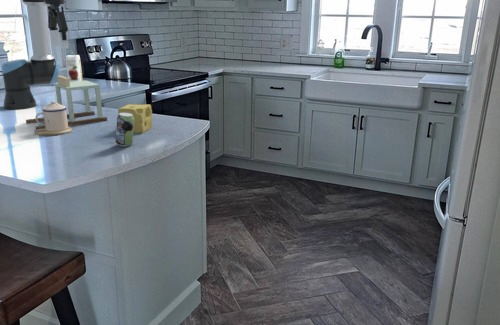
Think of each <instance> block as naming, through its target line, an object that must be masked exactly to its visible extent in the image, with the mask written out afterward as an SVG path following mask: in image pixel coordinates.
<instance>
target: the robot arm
mask: <svg viewBox="0 0 500 325" xmlns="http://www.w3.org/2000/svg"><path fill="white" fill-rule="evenodd" d="M22 3H23V4H24V5H26V11H27V18H28V19H27V20H28V26H29V32H30V41H31V48H32V55H31V57H30V61H27V60H26V59H16V60H9V61H6V62H3V63H2V64H1V74H2V79H3V86H4V91H5V92H4V93H5V94H4V100H3V108H4V109H6V110H22V109H28V108H33V107H36V106H37V101H36V99H35V97H34V95H33V93H32V91H31V86H35V85H36V86H37V85H50V84H55V83H58V78H57V76H60V63H59V61H58V60H56V59H55V56H54V55H53V54H52V49H51V46H52V47H58V46H60V49H62V50H64V49H69V43H68V34H67V33H68V31H69V28H68V24H67V23H68V22H67V19H66V17H65V11H64V7H63V6H61V5H64V4H65V0H22ZM47 5H48V6H47ZM46 6H47V7H46ZM47 12H48V13H47ZM47 14H48V15H47ZM57 26H58V27H57ZM58 33H59V34H58ZM50 38H51V39H50ZM50 40H51V42H50Z"/></svg>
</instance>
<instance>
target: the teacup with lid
mask: <svg viewBox="0 0 500 325" xmlns="http://www.w3.org/2000/svg"><path fill="white" fill-rule="evenodd" d="M67 114H68V113H67V107H66V106H65V105H63V104H62V105H60V104H58V103H57V100H51V101H50V103H49V104H48V105H45V106H44V107H42V112H38V113H37V114H36V115H35V118H36V121H37V122H38V124H39V125H40V126H41V125H45V128H46V130H47V131H50V132H57V131H63V130H66V129H68V127H69V126H68V122H69V121H68V118H67ZM41 115H43V117H44V121H45V122H39V120H38V118H39V117H38V116H41Z"/></svg>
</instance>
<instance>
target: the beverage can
mask: <svg viewBox="0 0 500 325" xmlns="http://www.w3.org/2000/svg"><path fill="white" fill-rule="evenodd" d="M133 130H134V117H133V114H131V113H119V115H117V117H116V128H115V144H117V145H118V146H120V147H130V146H131V145H132V144H133V141H134V132H133Z"/></svg>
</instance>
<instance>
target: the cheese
mask: <svg viewBox="0 0 500 325" xmlns="http://www.w3.org/2000/svg"><path fill="white" fill-rule="evenodd" d="M117 112H118V113H117V114H118V115H119V113H131V114H133V117H134V130H133V133H137V134H144V133H145V132H147V131H148V130H150V129H152V128H153V110H152V105H151V104H129V103H127V104H126V105H124V106H122V107H120V108H118V110H117ZM118 115H117V116H118Z"/></svg>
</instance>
